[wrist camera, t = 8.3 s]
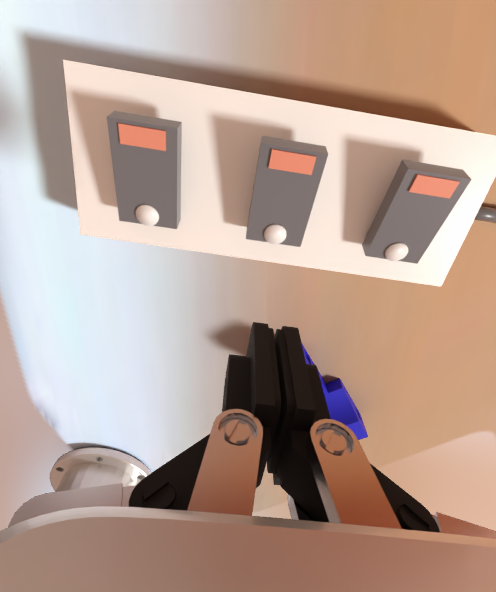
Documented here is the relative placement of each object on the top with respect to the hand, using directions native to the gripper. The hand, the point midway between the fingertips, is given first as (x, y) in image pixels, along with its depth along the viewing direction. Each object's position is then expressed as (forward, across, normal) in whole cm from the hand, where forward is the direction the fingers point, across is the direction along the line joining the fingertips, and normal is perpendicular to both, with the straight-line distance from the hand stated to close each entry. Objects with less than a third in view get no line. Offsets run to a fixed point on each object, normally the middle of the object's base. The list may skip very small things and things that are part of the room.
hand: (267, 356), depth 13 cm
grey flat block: (+10, -9, -4) cm, 14 cm away
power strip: (+16, -3, -4) cm, 16 cm away
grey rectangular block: (+11, +7, -4) cm, 13 cm away
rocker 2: (+11, -1, -4) cm, 11 cm away
